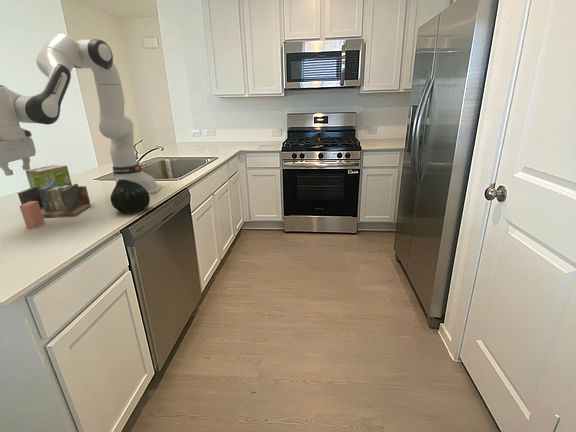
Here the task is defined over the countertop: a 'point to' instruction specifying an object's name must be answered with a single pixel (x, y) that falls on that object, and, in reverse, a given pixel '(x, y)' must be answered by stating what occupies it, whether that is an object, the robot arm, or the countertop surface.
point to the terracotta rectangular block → (32, 214)
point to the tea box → (49, 176)
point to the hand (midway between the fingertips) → (18, 172)
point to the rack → (58, 200)
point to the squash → (129, 197)
